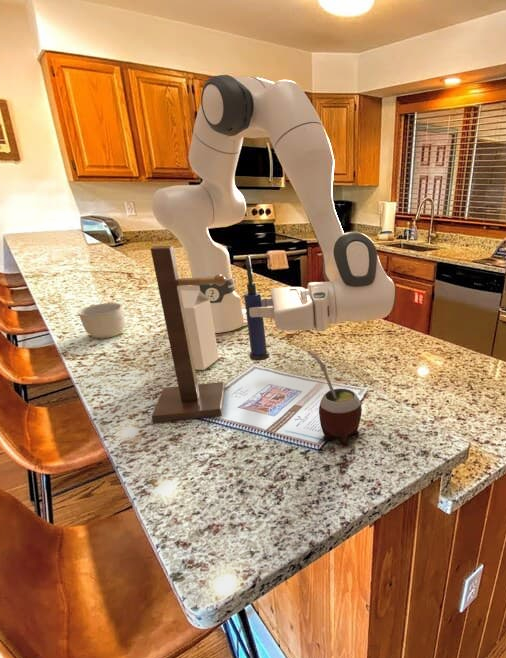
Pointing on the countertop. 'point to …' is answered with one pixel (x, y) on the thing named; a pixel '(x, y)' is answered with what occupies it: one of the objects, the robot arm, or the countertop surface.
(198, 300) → the milk carton
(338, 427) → the mate gourd
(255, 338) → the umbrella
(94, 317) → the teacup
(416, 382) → the countertop surface
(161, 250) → the coat stand
